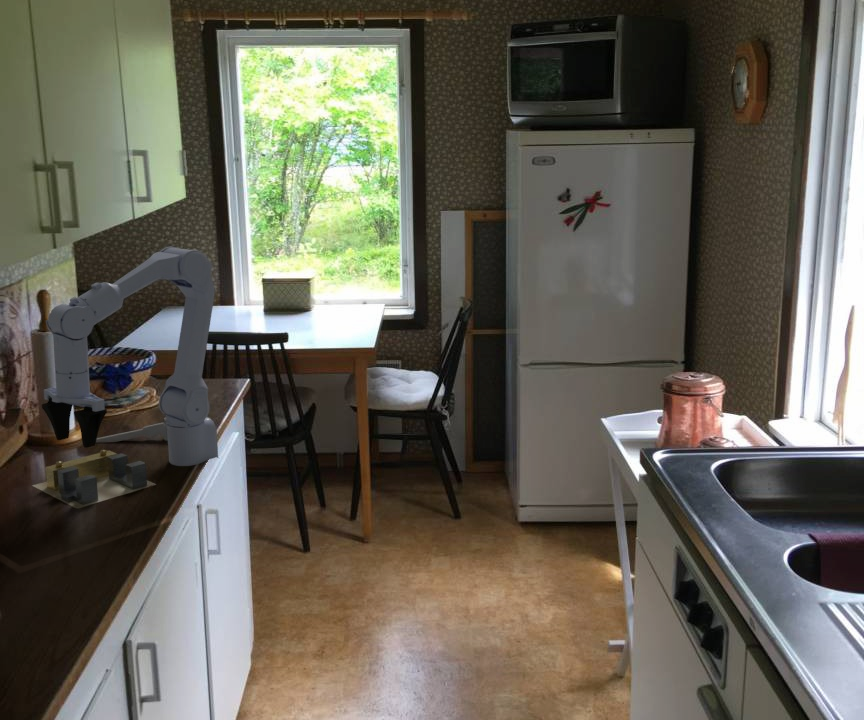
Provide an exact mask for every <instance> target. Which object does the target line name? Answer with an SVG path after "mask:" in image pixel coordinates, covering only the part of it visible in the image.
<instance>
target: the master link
mask: <svg viewBox="0 0 864 720" xmlns="http://www.w3.org/2000/svg"><path fill="white" fill-rule="evenodd" d="M117 454H118V453H116V452H114V451H112V450H107V449H100V451H99V452H97V453H93V454H90V455H86V456H82V457H79V458H78V457H77V458H75V459H72V460H67V461H64V462H63V460H59V461H55V464H52V465H48V466H45V468H44V469H45V478H46V482H47V487H48V488H50V489H52V490H54V491H57V490H59V482H58V471H57V470H61V469H65V468H68V467H72V466H73V467H75V468H78V471H79V478H80V477H83V476H87V475H93V476H95V477H96V478H97V479H99V478H103V477H106V476H109V471H108V458H107V457H109V456H113V455H117Z"/></svg>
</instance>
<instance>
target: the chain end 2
mask: <svg viewBox="0 0 864 720" xmlns="http://www.w3.org/2000/svg"><path fill="white" fill-rule="evenodd" d="M116 454H117V455H113V456H109V457H107V458H108V471H109V479H110V480H112V481H114V482H117V483H119V484H121V485H123V486H126V487H128V488H130V489H132V490H134V489H138V488H141V487H144V486H147V481H148V479H147V465H146V464H147V463H146V462H144V461H142V460H138V461H133V462H129V463H128V461H129V460H128V455H127V454H125V453H116Z"/></svg>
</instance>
